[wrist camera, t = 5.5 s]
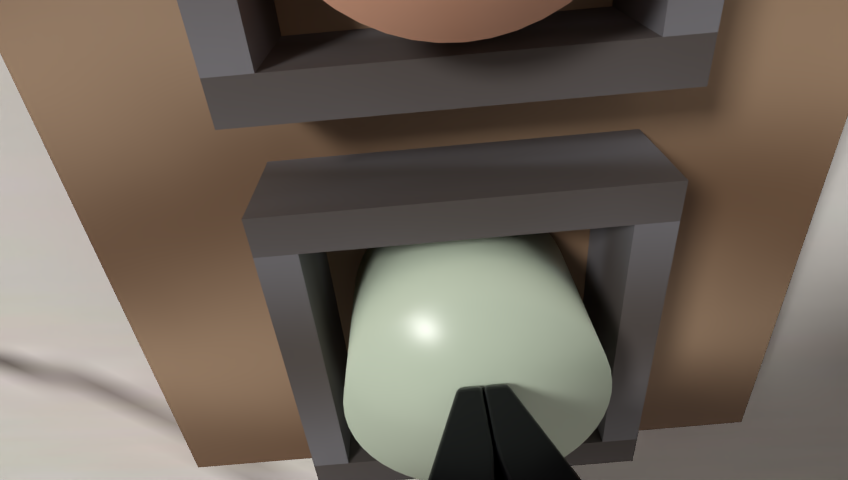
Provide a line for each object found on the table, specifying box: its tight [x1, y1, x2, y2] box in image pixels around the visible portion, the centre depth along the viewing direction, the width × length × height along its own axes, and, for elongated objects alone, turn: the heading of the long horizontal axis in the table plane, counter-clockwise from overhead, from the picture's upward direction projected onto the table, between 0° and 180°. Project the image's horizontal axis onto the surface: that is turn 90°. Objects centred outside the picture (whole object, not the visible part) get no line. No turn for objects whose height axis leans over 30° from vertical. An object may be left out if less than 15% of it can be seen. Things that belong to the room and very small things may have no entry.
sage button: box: [343, 233, 612, 480], centre depth 11 cm, size 4×4×3 cm
